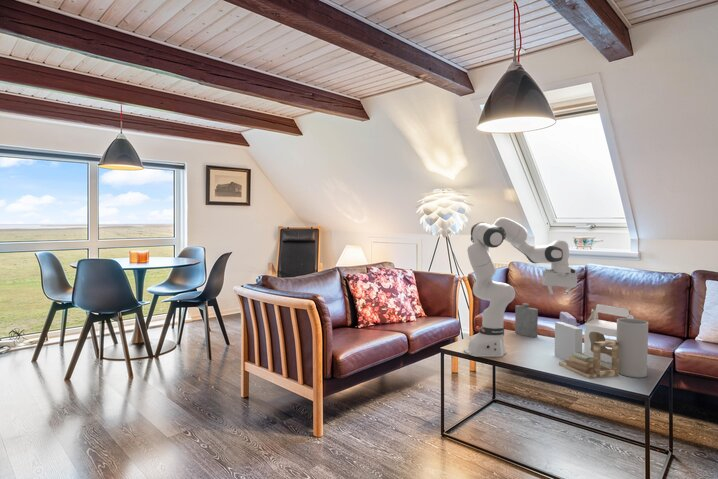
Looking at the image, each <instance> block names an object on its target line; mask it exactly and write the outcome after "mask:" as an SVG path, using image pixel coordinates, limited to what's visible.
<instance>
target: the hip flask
mask: <svg viewBox="0 0 718 479" xmlns="http://www.w3.org/2000/svg"><path fill="white" fill-rule="evenodd" d="M529 306H530V304H529V303H525V302H524V303H522V305H515V308H514V309H515V314H514V316H515V317H514V318H515V322H514V326H515V327H514V330H515V331H514V332H515V334H518V335H521V336H522V335H523V336H526V337H531V338H538V322H539V320H538V319H539V318H538V317H539V315H538V314H539V313H538V312H539V310H538V308H533V307H529Z"/></svg>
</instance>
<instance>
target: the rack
mask: <svg viewBox="0 0 718 479" xmlns="http://www.w3.org/2000/svg"><path fill="white" fill-rule="evenodd" d="M601 346H605V347H606V346H607V347H609V346H611V349H612V363H611V367H610V366H609V365H606V364H603V363H601V360H600V353H601ZM566 363H567V361H566V360H562V361H558V365H559V366H561V367H564V368H565V369H568V370H569V371H572V372H574V373H576V374H578V375H579V376H582V377H584V378H586V379H594V378H595V379H596V378H605V377H607V378H608V377H618V376H619V373H618V371H619V341H617V340H605V341H601V342H594V355H593V368H594V373H591V374H585V373H582V372H580V371H578V370H576V369H574V368H572V367H570V366H567V365H566Z"/></svg>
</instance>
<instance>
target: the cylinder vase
mask: <svg viewBox="0 0 718 479" xmlns="http://www.w3.org/2000/svg"><path fill="white" fill-rule="evenodd" d="M616 323H617V337H616V341H619V371H618V375H621V376H625V377H628V378H636V379H639V378H640V379H641V378H642V379H643V378H646V377H647V375H648V351H649V346H648V345H649V343H648V342H649V321H646V320H642V319H639V318H638V319H637V318H634V319H629V318H627V317H622V318H621V317H620V318H617V319H616Z"/></svg>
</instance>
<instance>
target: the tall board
mask: <svg viewBox="0 0 718 479" xmlns="http://www.w3.org/2000/svg"><path fill="white" fill-rule="evenodd" d="M572 352H582V353H583V328H582V327H578V326H577V325H576V326H573V325H570V324H567V323H564V322H559V321H555V322H554V356H555V357H557V358H560V359H561V360H563V361H567V360H569V355H572Z"/></svg>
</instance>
